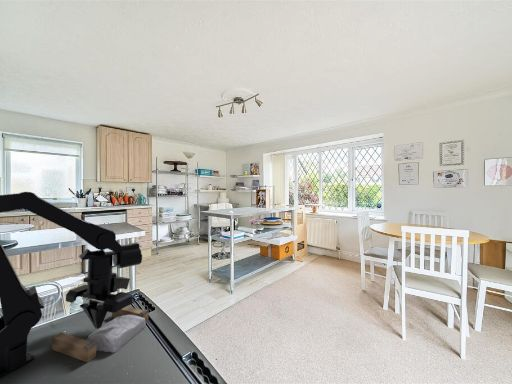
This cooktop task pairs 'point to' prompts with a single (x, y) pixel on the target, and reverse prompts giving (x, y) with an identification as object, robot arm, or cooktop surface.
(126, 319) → the stone block
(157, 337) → the cooktop surface
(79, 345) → the wooden blocks
